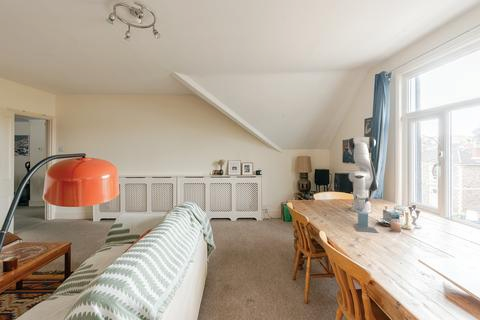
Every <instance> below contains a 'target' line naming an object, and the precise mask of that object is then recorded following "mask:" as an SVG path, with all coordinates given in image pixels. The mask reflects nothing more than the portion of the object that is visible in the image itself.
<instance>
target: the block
mask: <svg viewBox="0 0 480 320" xmlns="http://www.w3.org/2000/svg"><path fill="white" fill-rule="evenodd" d="M357 226H362V227H369V213H367V212H357Z"/></svg>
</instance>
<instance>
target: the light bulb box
mask: <svg viewBox="0 0 480 320" xmlns="http://www.w3.org/2000/svg"><path fill="white" fill-rule="evenodd" d="M383 220H385V221H387V222H389V223H390V224H391V221H395V222H399V223H401V221H400V220H401V213H400V212H399V211H397V210H394V209H392V208H383V209H382V221H383Z"/></svg>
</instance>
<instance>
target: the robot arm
mask: <svg viewBox="0 0 480 320" xmlns="http://www.w3.org/2000/svg"><path fill="white" fill-rule="evenodd" d="M376 142H377V141H376V139H375V137H374V136H373V137H372V136H360V137H351V138H349V139H348V143H347V145H348V148H349V149H350V150H353V161H354V162H355V165H356V167H358V169H359V170H355V171H351V172H349V174H348V180H349V181H350V182H352V183H351V184H352V188H353V193H352V194H353V198H354V200H353V202H351V206H350V211H351V212H356V213H358V212H367V213H368V214H369V213H373V210H372V209H371V208H372V204H371V202H370V201H369V200H370V198H369V191H370V192H375V191H377V190H378V188H379V183H378V181H377V177H376V172H375V167H374V162H373V161H372V160H371V159H370V157H369V156H370V155H369V150H372V149H374V148H375V146H376V144H377V143H376Z"/></svg>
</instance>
